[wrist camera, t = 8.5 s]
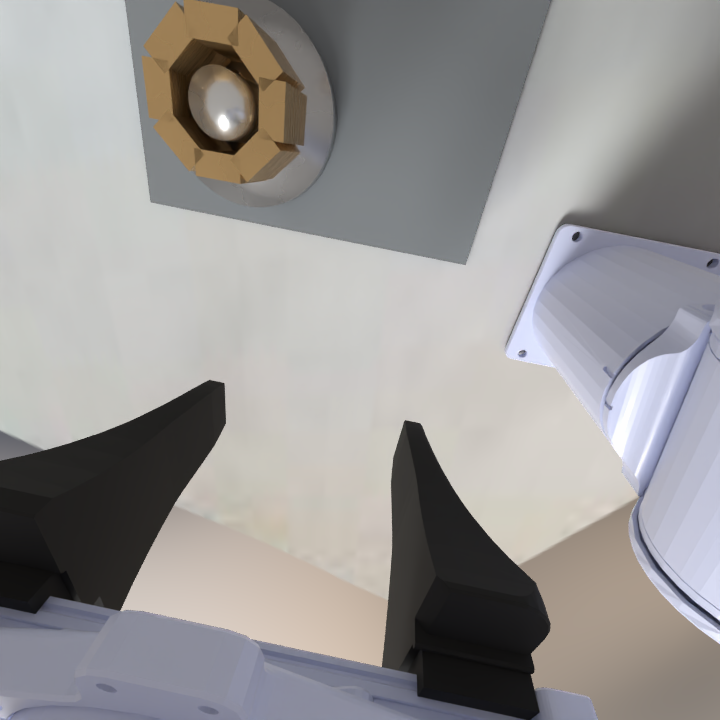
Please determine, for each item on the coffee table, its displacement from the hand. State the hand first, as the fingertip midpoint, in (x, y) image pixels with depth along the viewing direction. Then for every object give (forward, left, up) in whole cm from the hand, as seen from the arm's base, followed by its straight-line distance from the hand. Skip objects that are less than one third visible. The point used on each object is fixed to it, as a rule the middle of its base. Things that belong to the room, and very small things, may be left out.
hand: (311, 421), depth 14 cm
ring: (+6, -10, -8) cm, 14 cm away
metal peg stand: (+6, -10, -10) cm, 15 cm away
